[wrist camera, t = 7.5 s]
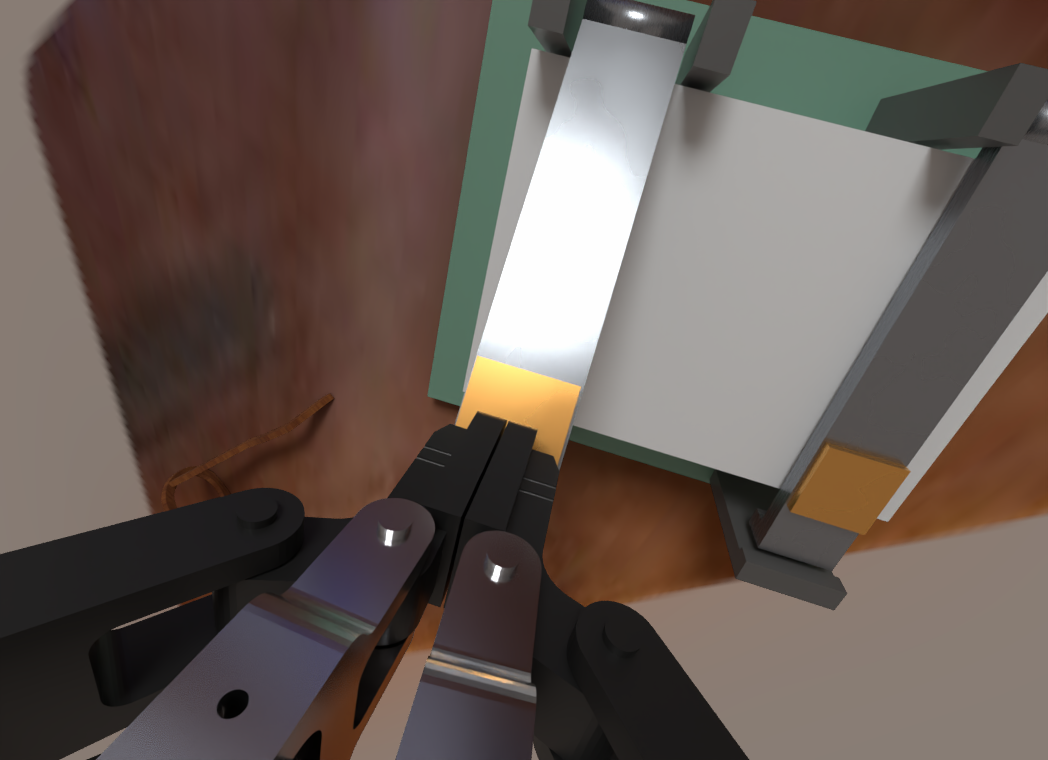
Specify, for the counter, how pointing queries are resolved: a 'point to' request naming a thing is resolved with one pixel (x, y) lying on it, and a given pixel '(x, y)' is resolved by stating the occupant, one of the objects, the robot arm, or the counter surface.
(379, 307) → the counter surface
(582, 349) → the strap
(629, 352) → the base
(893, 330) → the strap
